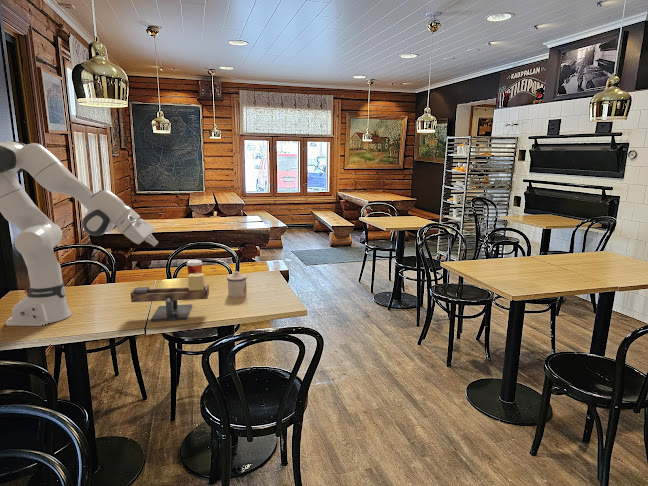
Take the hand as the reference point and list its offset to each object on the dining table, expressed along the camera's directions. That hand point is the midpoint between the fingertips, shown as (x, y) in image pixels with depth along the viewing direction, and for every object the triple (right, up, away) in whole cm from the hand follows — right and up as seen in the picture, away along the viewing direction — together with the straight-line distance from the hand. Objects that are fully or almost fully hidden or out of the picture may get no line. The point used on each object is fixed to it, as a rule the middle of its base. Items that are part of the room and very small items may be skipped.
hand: (156, 244), depth 172 cm
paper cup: (+4, -22, +40) cm, 46 cm away
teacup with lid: (+27, -24, +31) cm, 48 cm away
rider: (+15, -21, +5) cm, 26 cm away
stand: (+5, -29, +5) cm, 30 cm away
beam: (+5, -23, +4) cm, 24 cm away
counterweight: (-6, -21, +2) cm, 22 cm away
